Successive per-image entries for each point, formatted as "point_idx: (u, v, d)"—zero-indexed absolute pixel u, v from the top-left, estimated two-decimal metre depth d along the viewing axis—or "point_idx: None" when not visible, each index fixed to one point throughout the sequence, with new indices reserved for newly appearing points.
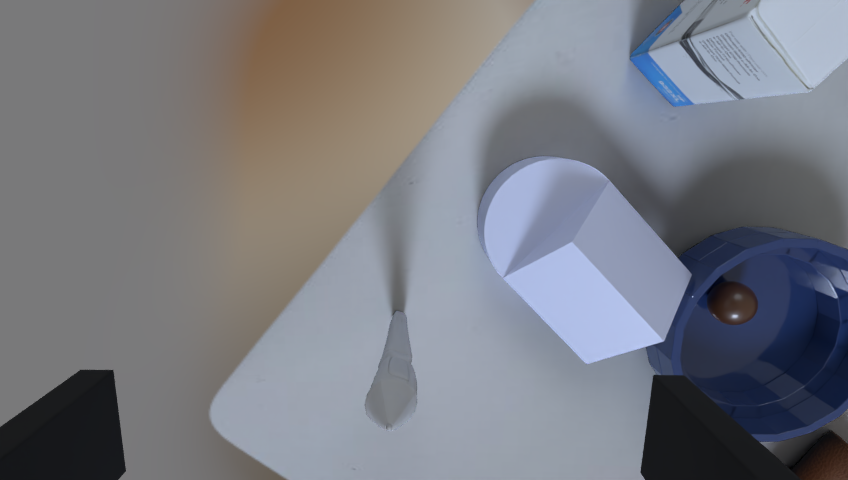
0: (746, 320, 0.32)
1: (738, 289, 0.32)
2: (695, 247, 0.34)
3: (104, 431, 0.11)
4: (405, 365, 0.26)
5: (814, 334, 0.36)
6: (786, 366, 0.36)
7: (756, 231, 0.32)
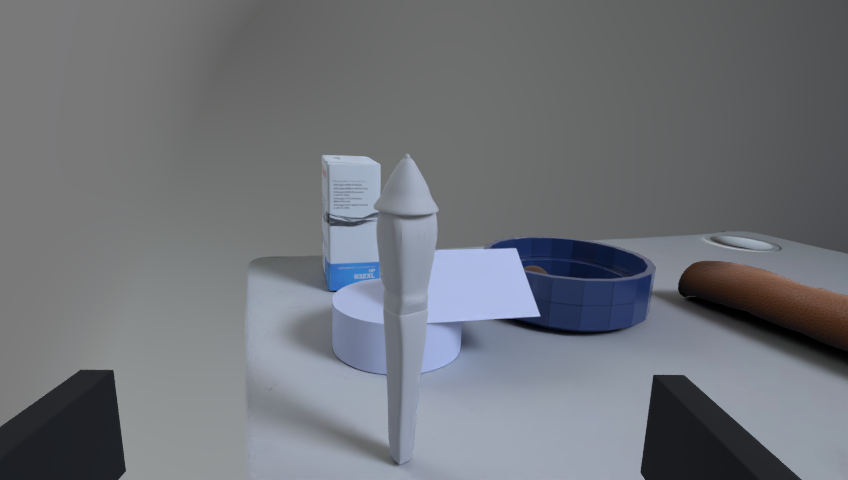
0: None
1: None
2: None
3: (104, 431, 0.11)
4: None
5: None
6: None
7: None
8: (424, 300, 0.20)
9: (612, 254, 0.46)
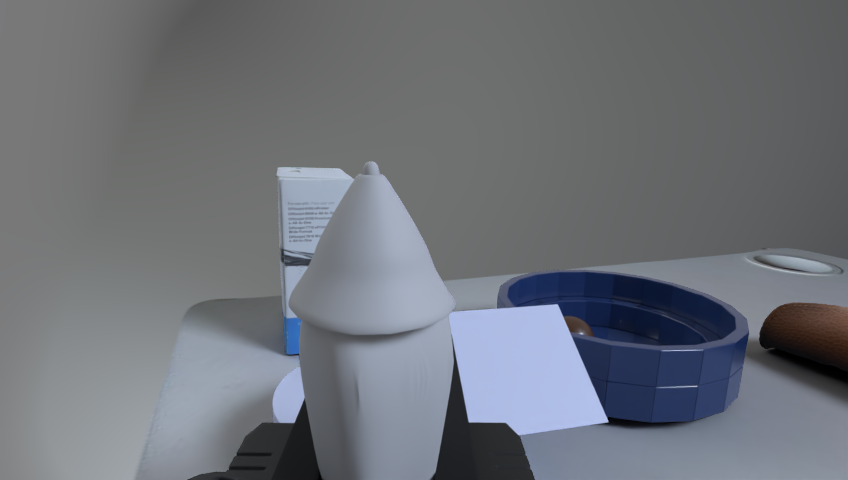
0: (585, 322, 0.30)
1: None
2: None
3: None
4: None
5: (633, 330, 0.35)
6: None
7: None
8: None
9: (670, 293, 0.34)
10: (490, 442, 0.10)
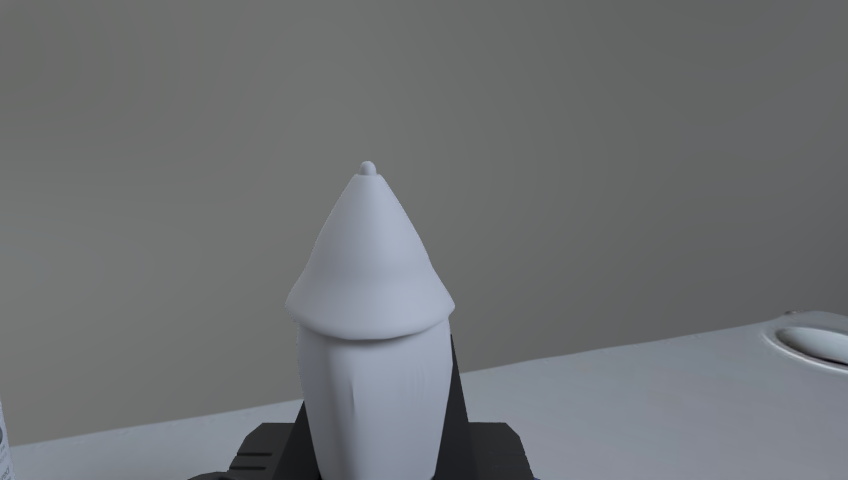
0: None
1: None
2: None
3: None
4: None
5: None
6: None
7: None
8: None
9: None
10: (490, 442, 0.10)
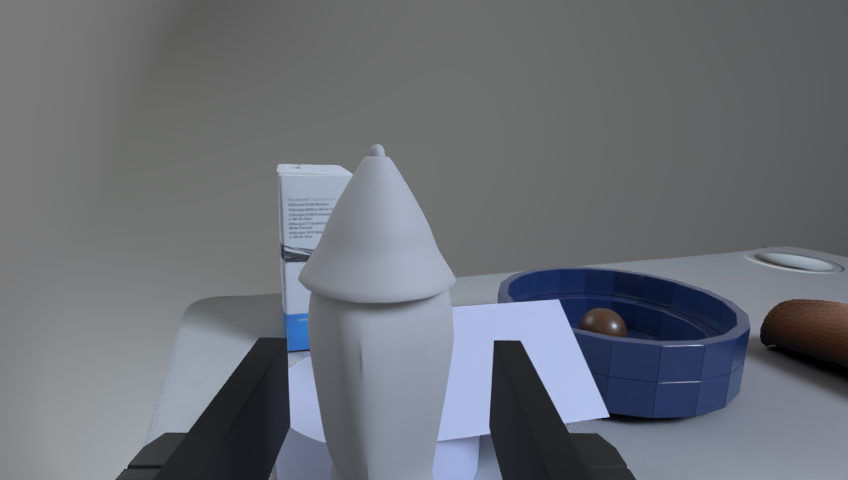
0: None
1: None
2: None
3: (283, 389, 0.13)
4: None
5: (633, 327, 0.35)
6: None
7: None
8: None
9: (671, 290, 0.34)
10: (587, 454, 0.10)
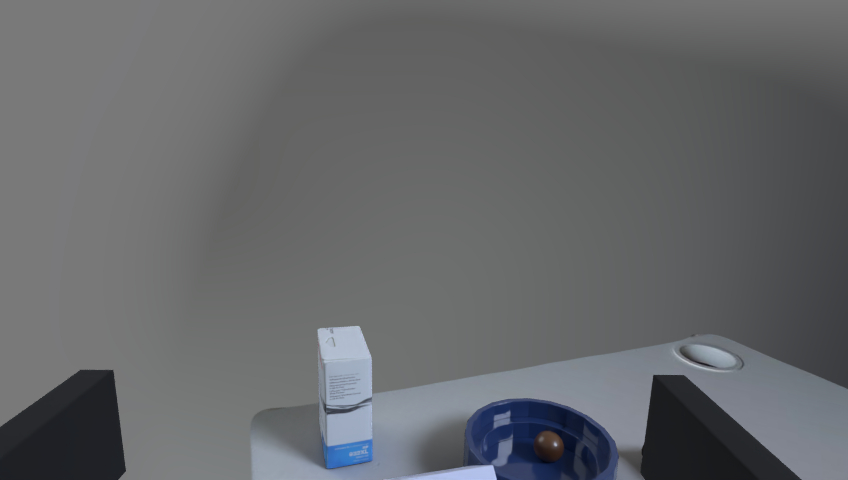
0: (555, 460, 0.48)
1: None
2: None
3: (104, 431, 0.11)
4: None
5: None
6: (581, 462, 0.49)
7: None
8: None
9: (583, 422, 0.51)
10: None
